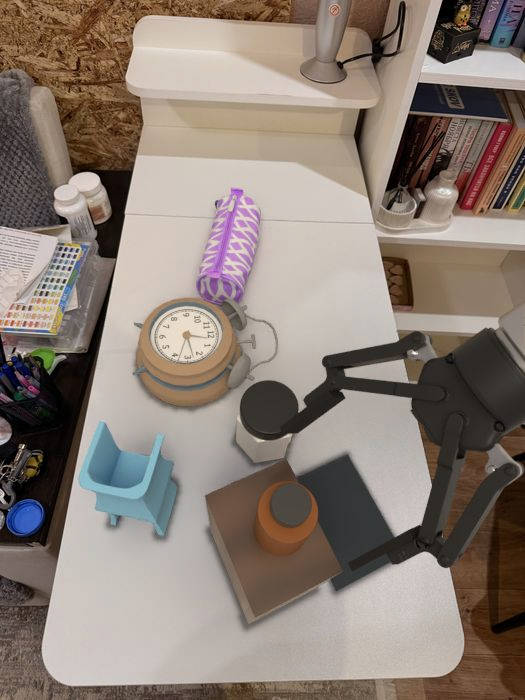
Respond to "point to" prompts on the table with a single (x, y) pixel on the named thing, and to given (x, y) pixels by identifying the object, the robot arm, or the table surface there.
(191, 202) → the table surface
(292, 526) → the spice bottle
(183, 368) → the alarm clock
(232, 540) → the block
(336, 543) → the mat
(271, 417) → the jar
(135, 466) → the blue doll chair
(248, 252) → the pencil case
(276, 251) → the table surface
